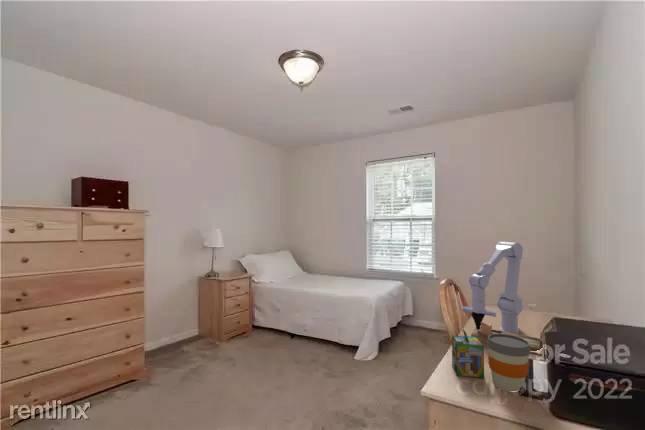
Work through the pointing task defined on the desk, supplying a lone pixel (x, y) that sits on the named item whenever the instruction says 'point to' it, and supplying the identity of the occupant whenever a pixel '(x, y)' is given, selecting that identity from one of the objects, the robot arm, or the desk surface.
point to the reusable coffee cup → (508, 361)
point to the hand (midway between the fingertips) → (478, 329)
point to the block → (486, 328)
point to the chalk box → (467, 356)
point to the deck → (533, 342)
